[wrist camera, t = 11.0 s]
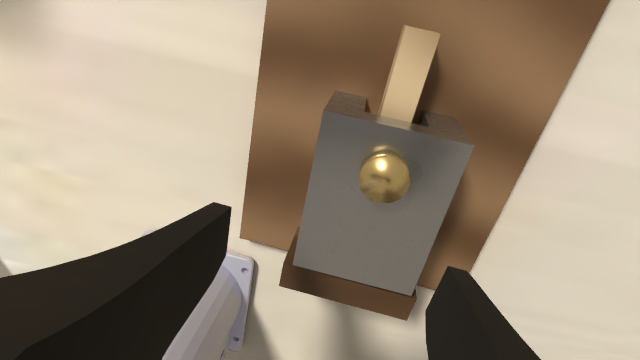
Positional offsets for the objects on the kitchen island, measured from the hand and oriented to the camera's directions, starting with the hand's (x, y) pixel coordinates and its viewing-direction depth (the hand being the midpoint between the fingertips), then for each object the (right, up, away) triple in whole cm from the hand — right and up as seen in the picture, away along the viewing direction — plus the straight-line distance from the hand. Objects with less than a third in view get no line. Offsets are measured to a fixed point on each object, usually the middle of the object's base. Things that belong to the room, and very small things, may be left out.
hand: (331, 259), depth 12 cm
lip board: (+4, +7, +6) cm, 10 cm away
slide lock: (+3, +3, +8) cm, 9 cm away
